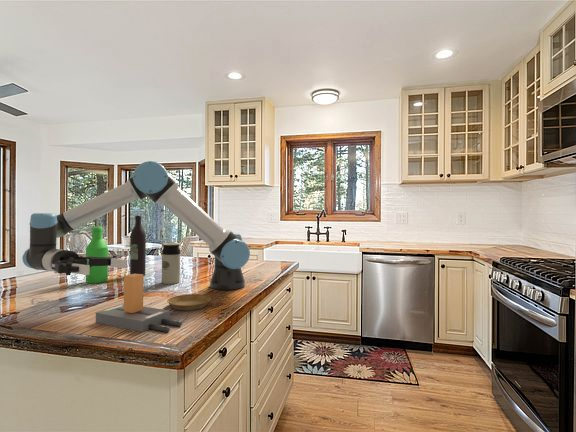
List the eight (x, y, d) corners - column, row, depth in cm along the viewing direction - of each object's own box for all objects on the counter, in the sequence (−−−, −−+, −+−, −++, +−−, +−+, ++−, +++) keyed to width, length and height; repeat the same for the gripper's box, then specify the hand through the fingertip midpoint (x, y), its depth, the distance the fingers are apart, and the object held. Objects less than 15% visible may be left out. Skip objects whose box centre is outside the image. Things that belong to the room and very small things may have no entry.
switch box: (95, 322, 102) (95, 312, 102) (125, 312, 112) (126, 303, 112) (161, 335, 92) (161, 324, 92) (187, 323, 102) (188, 313, 102)
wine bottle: (130, 275, 173) (130, 215, 172) (145, 274, 176) (145, 215, 175) (129, 277, 166) (130, 215, 166) (145, 276, 169) (146, 215, 169)
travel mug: (172, 279, 163) (173, 242, 163) (183, 282, 159) (183, 243, 158) (157, 282, 157) (158, 243, 157) (168, 285, 152) (168, 244, 152)
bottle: (100, 284, 152) (101, 227, 151) (81, 283, 152) (81, 227, 151) (111, 280, 161) (111, 226, 160) (92, 279, 161) (93, 226, 160)
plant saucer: (193, 315, 111) (193, 307, 111) (157, 309, 117) (157, 301, 117) (219, 303, 125) (219, 296, 125) (186, 299, 131) (186, 292, 131)
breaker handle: (123, 311, 102) (124, 275, 102) (134, 308, 106) (134, 273, 106) (132, 313, 101) (132, 276, 100) (143, 309, 104) (143, 274, 104)
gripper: (95, 267, 126) (139, 272, 118) (20, 278, 103) (69, 286, 95) (95, 246, 126) (140, 251, 118) (21, 253, 103) (69, 259, 95)
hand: (108, 267), depth 106 cm, fingers open, 13 cm apart
